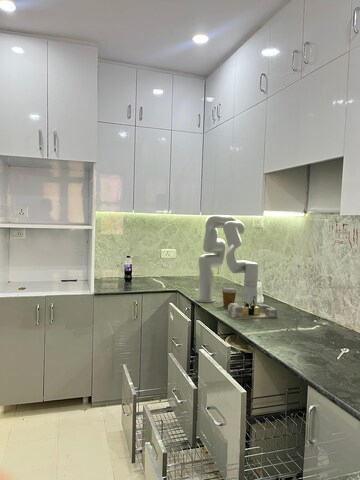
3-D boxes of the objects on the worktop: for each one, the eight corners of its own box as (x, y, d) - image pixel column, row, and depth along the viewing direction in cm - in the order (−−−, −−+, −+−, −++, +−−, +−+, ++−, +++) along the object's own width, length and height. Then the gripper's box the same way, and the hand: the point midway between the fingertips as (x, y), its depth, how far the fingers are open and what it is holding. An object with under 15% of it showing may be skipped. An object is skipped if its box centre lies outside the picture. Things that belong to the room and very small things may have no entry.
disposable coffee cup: (238, 306, 236) (239, 288, 235) (232, 309, 228) (233, 290, 227) (224, 304, 241) (225, 286, 240) (218, 307, 233) (219, 288, 232)
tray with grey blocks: (225, 313, 218) (225, 302, 218) (263, 311, 227) (264, 300, 226) (236, 319, 205) (236, 308, 205) (276, 317, 214) (277, 305, 213)
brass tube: (233, 313, 215) (233, 306, 215) (255, 312, 219) (255, 305, 219) (237, 315, 211) (237, 308, 210) (259, 314, 215) (259, 307, 215)
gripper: (238, 281, 221) (236, 310, 222) (252, 286, 205) (250, 318, 206) (249, 280, 224) (247, 310, 225) (264, 286, 208) (262, 317, 209)
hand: (249, 313), depth 216 cm, fingers closed on brass tube, 4 cm apart
